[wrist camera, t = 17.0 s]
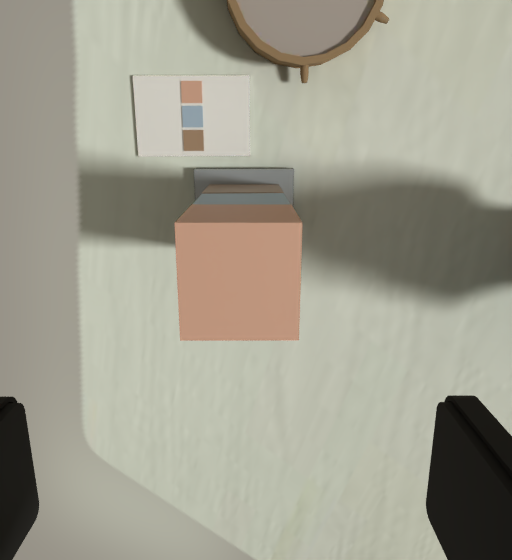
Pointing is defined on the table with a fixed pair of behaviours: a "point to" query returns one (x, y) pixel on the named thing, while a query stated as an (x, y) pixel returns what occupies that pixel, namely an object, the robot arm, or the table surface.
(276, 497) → the table surface
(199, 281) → the terracotta block
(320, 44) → the alarm clock
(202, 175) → the base
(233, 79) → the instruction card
